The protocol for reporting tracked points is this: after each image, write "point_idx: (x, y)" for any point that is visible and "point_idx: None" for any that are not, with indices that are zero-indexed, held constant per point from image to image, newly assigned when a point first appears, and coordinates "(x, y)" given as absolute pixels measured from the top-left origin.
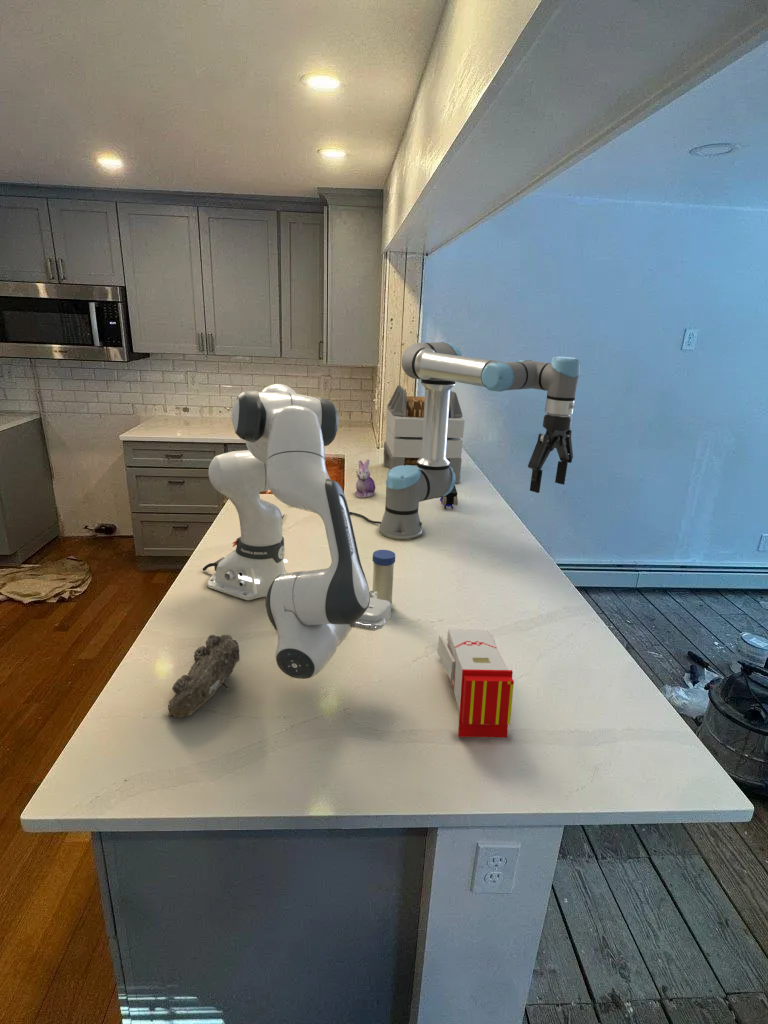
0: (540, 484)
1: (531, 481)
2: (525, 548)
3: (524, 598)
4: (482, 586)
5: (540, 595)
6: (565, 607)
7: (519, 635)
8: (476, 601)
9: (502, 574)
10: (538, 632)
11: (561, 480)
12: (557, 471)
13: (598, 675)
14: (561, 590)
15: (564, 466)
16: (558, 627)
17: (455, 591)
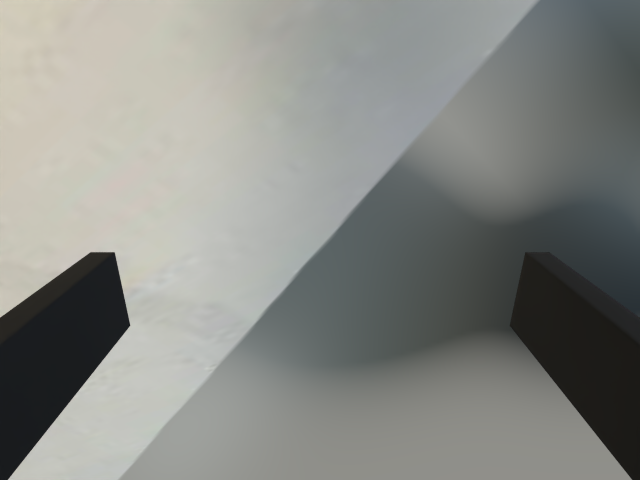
0: (92, 372)
1: (30, 303)
2: (486, 4)
3: (165, 222)
4: (109, 102)
5: (215, 239)
6: (217, 305)
7: None
8: (32, 151)
9: (228, 91)
10: None
11: (530, 326)
12: (598, 321)
13: (67, 440)
14: (286, 258)
15: (635, 462)
16: (129, 337)
17: (9, 68)
